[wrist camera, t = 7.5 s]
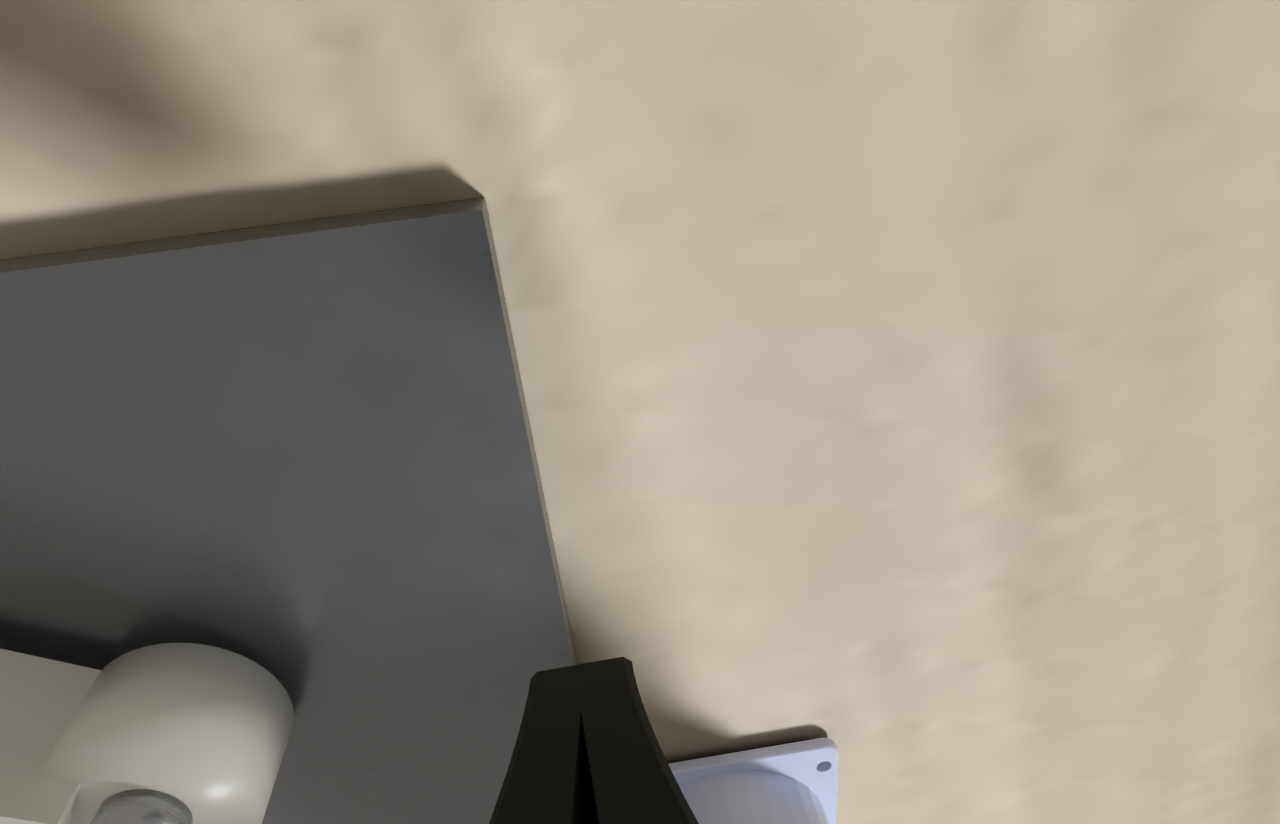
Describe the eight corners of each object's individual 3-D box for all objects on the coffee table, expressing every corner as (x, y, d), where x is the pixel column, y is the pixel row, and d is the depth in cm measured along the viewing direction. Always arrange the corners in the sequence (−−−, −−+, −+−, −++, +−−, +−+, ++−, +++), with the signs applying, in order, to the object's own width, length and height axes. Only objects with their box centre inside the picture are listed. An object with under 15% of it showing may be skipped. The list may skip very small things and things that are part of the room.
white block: (316, 670, 21) (272, 810, 17) (267, 788, 23) (219, 936, 19) (-192, 551, 17) (-372, 696, 14) (-198, 702, 19) (-357, 862, 16)
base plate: (601, 788, 27) (610, 896, 24) (-8, 891, 26) (-83, 1017, 23) (484, 197, 17) (473, 248, 14) (-513, 327, 16) (-770, 415, 13)
